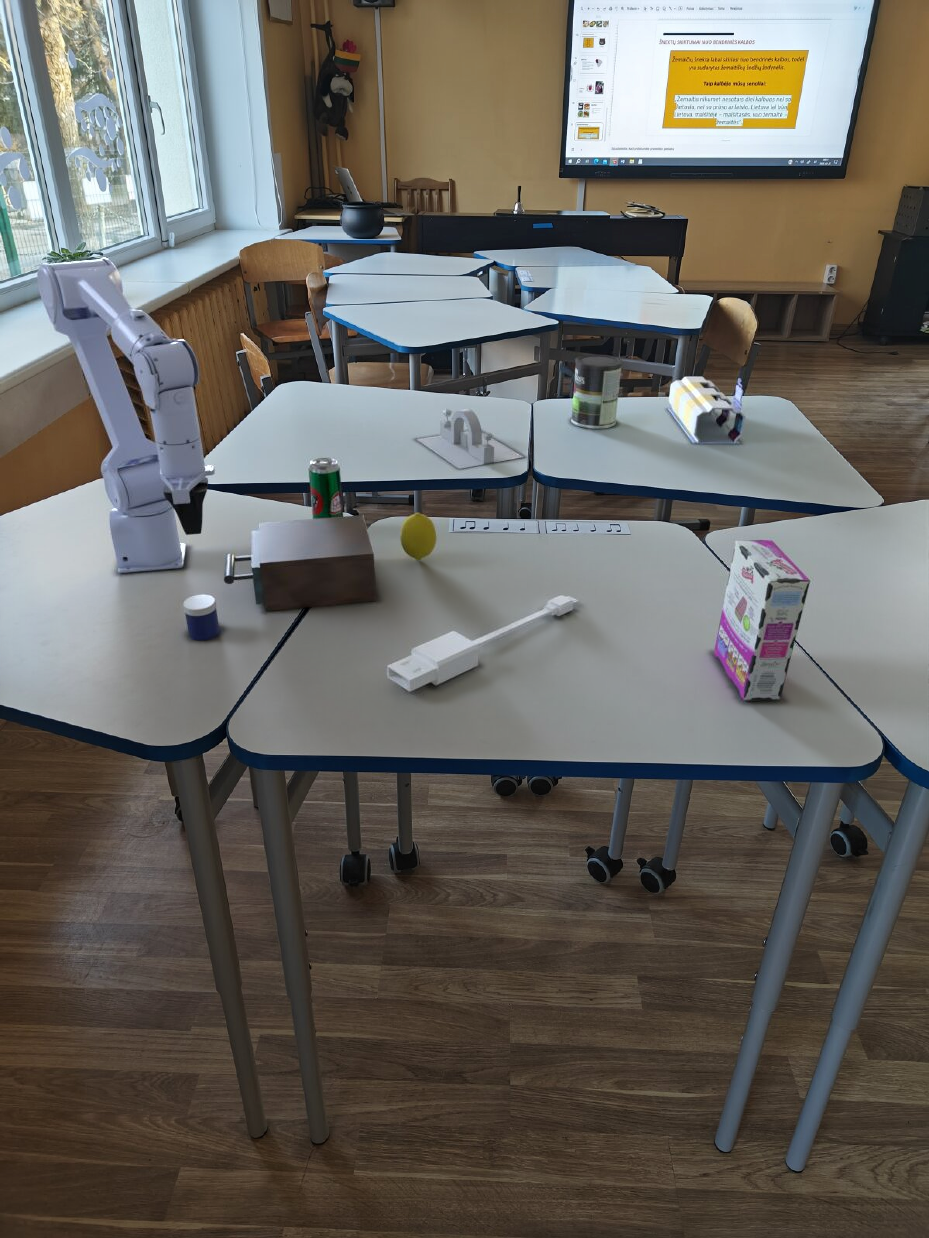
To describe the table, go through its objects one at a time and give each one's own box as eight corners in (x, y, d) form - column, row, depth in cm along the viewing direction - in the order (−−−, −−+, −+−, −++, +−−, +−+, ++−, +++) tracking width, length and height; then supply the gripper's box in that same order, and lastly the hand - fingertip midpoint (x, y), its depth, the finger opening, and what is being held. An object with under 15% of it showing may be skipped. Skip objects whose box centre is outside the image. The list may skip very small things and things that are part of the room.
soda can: (338, 537, 141) (333, 468, 135) (309, 534, 142) (303, 466, 136) (348, 525, 146) (343, 458, 140) (319, 522, 146) (314, 455, 140)
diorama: (740, 443, 184) (751, 383, 177) (692, 443, 184) (702, 382, 177) (710, 409, 206) (718, 354, 199) (667, 409, 205) (674, 353, 199)
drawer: (226, 607, 119) (220, 570, 116) (228, 567, 130) (223, 533, 127) (359, 595, 123) (357, 558, 120) (350, 557, 133) (348, 523, 130)
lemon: (423, 571, 131) (422, 523, 127) (394, 562, 134) (392, 515, 130) (443, 557, 135) (442, 511, 131) (414, 549, 138) (413, 503, 134)
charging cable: (585, 616, 122) (588, 595, 120) (411, 699, 102) (412, 675, 100) (559, 603, 125) (561, 582, 123) (385, 681, 105) (385, 658, 103)
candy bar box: (783, 701, 103) (813, 580, 94) (743, 702, 102) (769, 581, 94) (749, 651, 112) (773, 537, 104) (712, 652, 112) (733, 538, 104)
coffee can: (576, 429, 191) (581, 366, 184) (566, 416, 200) (571, 354, 193) (621, 428, 192) (628, 365, 185) (609, 414, 201) (615, 353, 194)
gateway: (493, 461, 173) (494, 423, 169) (483, 463, 172) (484, 424, 168) (449, 434, 188) (449, 397, 184) (440, 435, 187) (440, 399, 183)
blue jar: (189, 626, 116) (184, 595, 114) (220, 623, 117) (215, 593, 115) (187, 642, 113) (181, 610, 111) (219, 639, 114) (214, 607, 111)
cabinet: (265, 611, 120) (259, 563, 116) (264, 568, 132) (258, 523, 128) (376, 600, 123) (373, 553, 119) (365, 559, 135) (363, 515, 131)
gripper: (207, 454, 107) (221, 552, 114) (211, 419, 119) (224, 509, 126) (148, 458, 106) (166, 556, 113) (158, 422, 118) (174, 513, 125)
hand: (193, 532), depth 119 cm, fingers closed
